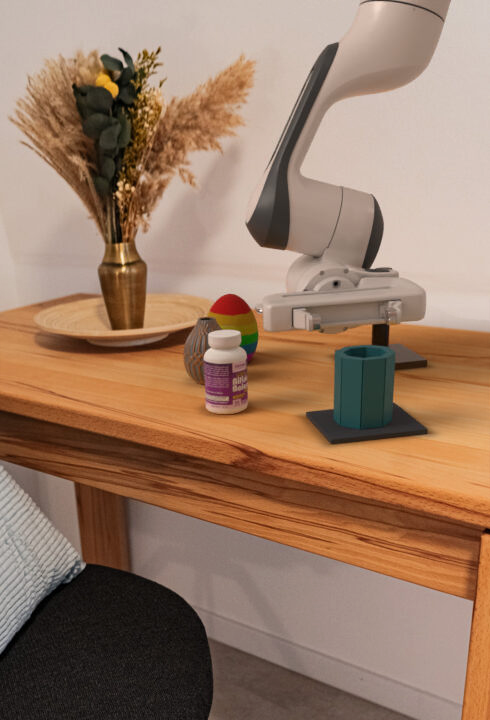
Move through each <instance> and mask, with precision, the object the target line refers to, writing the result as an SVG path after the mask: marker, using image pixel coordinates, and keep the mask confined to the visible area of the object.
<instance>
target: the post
mask: <svg viewBox="0 0 490 720" xmlns="http://www.w3.org/2000/svg"><path fill="white" fill-rule="evenodd" d="M374 269H387V270H393V268H392V267H390V266H380V267H375V268H374ZM390 328H391V325H387V324H386V323H384V324H371V344H370V345H376V346H386V347H389V348H390V349H392V350H393V351H395V352H396V354H395V371H399V370H409V369H419V368H426V367H428V359H427V358H425V357H423V356H422V355H421V354H418V352H416V351H413V350H412V349H410V348H409V347H407V346H406V345H404V344H402V343H400V342H398V343H390ZM340 349H341V348H338V349H334V353H335V352H336V351H338V350H340Z"/></svg>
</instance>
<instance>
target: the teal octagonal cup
mask: <svg viewBox="0 0 490 720" xmlns="http://www.w3.org/2000/svg"><path fill="white" fill-rule="evenodd" d="M339 349H340V350H338V349H337V350H338V351H336V352H335V351H334V369H333V370H334V372H333V374H334V376H333V384H334V385H333V409H334V416H333V419H334V420H335V421H336V422H337V423H338V424H339V425H340V426H343V427H348V428H354V429H370V428H379V427H383V426H385V425H386V424H388V423H389V422H391V421H392V412H393V403H394V393H395V392H394V391H395V371H396V370H395V354H396V352H395V351H393V350H392V349H390V348H389V347H386V346H376V345H371V344H359V345H349V346H348V345H347V346H343V347H341V348H339Z"/></svg>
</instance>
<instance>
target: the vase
mask: <svg viewBox="0 0 490 720" xmlns="http://www.w3.org/2000/svg"><path fill="white" fill-rule="evenodd" d="M218 330H222V328H221V327H220V326H219V325H218V323H217V321H216V319H215V318H214V317H207V316H201V317H199V318H198V319H197V321H196V323H195V325H194V327H193V329H192V330H191V331H190V333H189V335H188V336H187V338H186V340H185V342H184V346H183V353H182V357H183V365H184V369H185V372H186V374H187V376H189V378H190V379H191V380H192V381H193V382H194V383H196V384H198V385H205V376H204V354H205V353H206V351H207V350H208V349H210V348H211V347H210V346H209V344H208V334H209V333H211V332H214V331H218Z"/></svg>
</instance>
